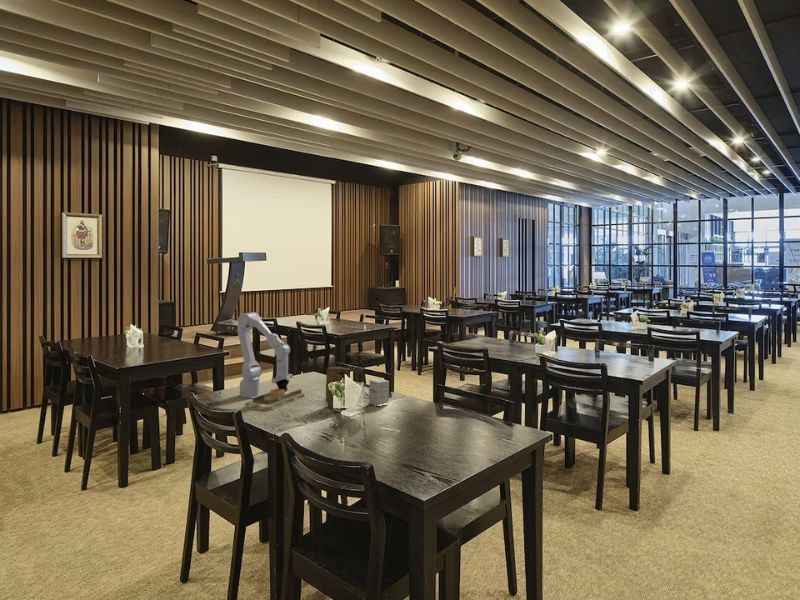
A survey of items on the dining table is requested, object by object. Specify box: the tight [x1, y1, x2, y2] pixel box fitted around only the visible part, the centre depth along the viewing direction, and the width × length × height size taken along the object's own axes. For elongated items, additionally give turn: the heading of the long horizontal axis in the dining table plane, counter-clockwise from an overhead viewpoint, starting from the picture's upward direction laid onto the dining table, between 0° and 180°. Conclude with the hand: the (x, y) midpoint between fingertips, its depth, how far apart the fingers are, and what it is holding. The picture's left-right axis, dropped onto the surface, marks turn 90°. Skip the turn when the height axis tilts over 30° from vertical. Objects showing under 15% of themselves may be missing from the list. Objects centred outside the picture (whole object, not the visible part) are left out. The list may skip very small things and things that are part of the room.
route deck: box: [244, 387, 305, 412], centre depth 258 cm, size 14×29×4 cm, turn 155°
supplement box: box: [368, 378, 390, 406], centre depth 258 cm, size 7×7×13 cm
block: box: [325, 366, 349, 410], centre depth 251 cm, size 11×8×20 cm
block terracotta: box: [269, 388, 285, 399], centre depth 259 cm, size 5×5×4 cm
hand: (282, 394), depth 262 cm, fingers closed
